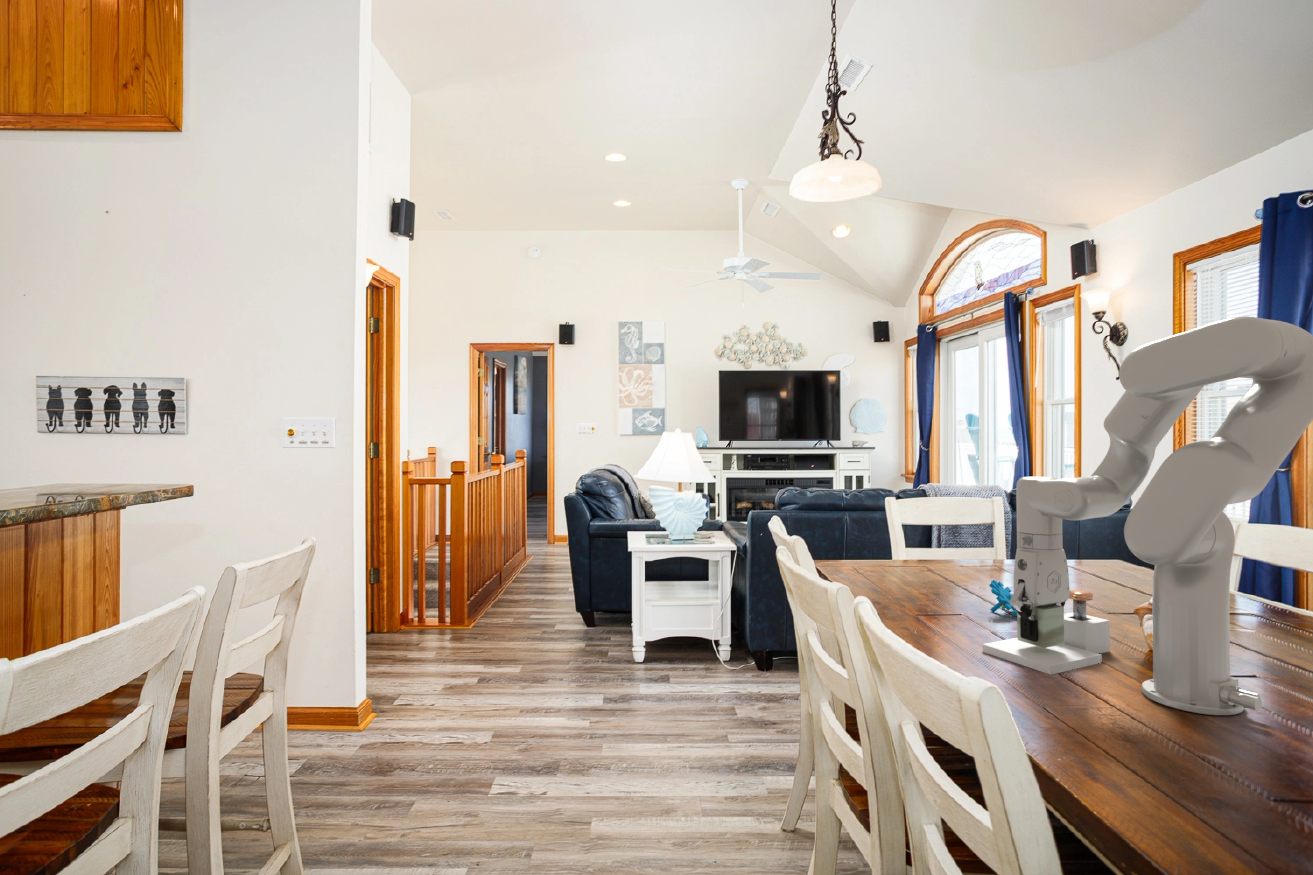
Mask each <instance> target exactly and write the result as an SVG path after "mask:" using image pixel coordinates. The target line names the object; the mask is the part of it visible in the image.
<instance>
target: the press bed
mask: <svg viewBox="0 0 1313 875" xmlns="http://www.w3.org/2000/svg"><path fill="white" fill-rule="evenodd" d="M1110 627H1111V626H1110V620H1109V619H1106V618H1100V617H1096V616H1093V615H1090V614H1089V615H1088V614H1086V620H1085V621H1080V620H1076V619H1073V611H1072V612H1068V613H1067V612H1066V613H1064V644H1062V645H1057V646H1052V647H1047V648H1042V647H1039V646H1036V645H1032V644H1029V643H1026V642H1022V641H1019V640H1017V637H1012V638H1007V639H1003V640H1002V639H1001V640H997V641H996V640H995V641H992V642H986V643H982V653H984V654H987V655H991V656H994V657H996V658H1000V659H1003V660H1006V661H1007V662H1008V661H1010V662H1012V663H1015V664H1018V665H1021V666H1024V667H1026V668H1030V669H1033V670H1036V671H1038V672H1041V673H1045V674H1047V675H1055V674H1060V673H1063V672H1068V671H1073V670H1078V669H1082V668H1085V667H1090V666H1094V664H1095V665H1099V664H1102V663H1101V662H1103V660H1102V659H1103V658H1102V656H1103V655H1102V654H1104V653H1109V652H1110V651H1111V650H1110V649H1111V648H1110V646H1111V644H1110V642H1111V640H1110V638H1111V635H1110V634H1111V633H1110V630H1111V629H1110ZM1099 653H1100V654H1099ZM1098 663H1099V664H1098ZM1077 668H1078V669H1077ZM1072 669H1073V670H1072Z"/></svg>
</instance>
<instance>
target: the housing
mask: <svg viewBox="0 0 1313 875" xmlns="http://www.w3.org/2000/svg"><path fill="white" fill-rule="evenodd" d="M1028 602H1030V601H1029V600H1028ZM1026 607H1027V609H1028V610H1029V611H1030V607H1031V606H1029V605H1027V606H1026ZM1064 607H1065V606H1064ZM1064 607H1063V606H1059V605H1054V604H1049V605H1043V606H1038V607H1037V612H1036V617H1035V620H1038V641H1036V642H1033V641H1030V640H1027V639H1023V638H1021V636H1020V617H1018V613H1017V616H1016V618H1017V619H1016V625H1017V626H1016V627H1017V628H1016V629H1017V632H1016V633H1017V635H1016V636H1017V637H1016V638H1017V640H1019V641H1022V642H1026V643H1029V644H1032V645H1036V646H1039V647H1042V648H1047V647H1052V646H1057V645H1062V644H1064V614H1065V608H1064Z"/></svg>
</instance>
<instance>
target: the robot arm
mask: <svg viewBox="0 0 1313 875" xmlns="http://www.w3.org/2000/svg"><path fill="white" fill-rule="evenodd" d="M1118 378H1119V383H1120V384H1121V386H1122V387H1123V389H1124V390H1125V391H1124V393H1123V394H1122V395H1121V397H1120V398H1119V400H1117V402H1116V404H1115V405H1114V406H1113V407H1112V408H1111V410H1110V411H1109V413H1108V414H1107V415H1106V416H1105V418H1104V420H1103V428H1104V430H1105V431H1106V433H1107V434H1108V437H1109V448H1108V450H1107V452H1106V455H1105V456H1104V458H1103V459H1102V461H1101V462H1100V464H1098V466H1097V468H1096V469H1095V470H1094V472H1092V474H1091V475H1090V476H1079V477H1067V478H1059V479H1058V478H1055V477H1052V476H1022V477H1020V478H1019V479H1018V480H1017V481H1016V485H1015V488H1016V489H1015V490H1016V492H1015V493H1016V494H1015V495H1016V497H1015V499H1016V503H1015V504H1016V552H1015V558H1014V566H1013V567H1014V568H1013V579H1012V580H1013V584H1012V586H1013V593H1012V594H1013V595H1012V597H1011V599H1010V604H1011V605H1012V606H1013V607H1014V608H1015V610H1016V612H1017V613H1018V617H1020V636H1021V638H1023V639H1027V640H1030V641H1033V642H1036V641H1038V620H1035V617H1036V612H1037V607H1038V606H1043V605H1049V604H1054V605H1059V606H1063V607H1065V605H1066V602H1067V601H1068V600H1069V599H1070V598H1069V596H1070V590H1071V589H1070V577H1069V576H1070V574H1069V565H1068V559H1067V555H1066V552H1065V549H1064V548H1063V546H1064V545H1063V520H1065V521H1066V520H1068V521H1083V520H1089V519H1097V518H1104V517H1109V516H1112V515H1113V514H1115V513H1116V512H1118V511H1119V510H1120V509H1122V508H1123V506H1124V505H1125V504H1126V503H1127V502H1128V501H1129V500H1130V498H1131V497H1132V496H1133V495H1134V493H1135V492H1137V490H1138V489H1139V487H1141V485H1142V484H1143V482H1144V480H1145V478H1146V477H1147V475H1148V473H1149V471H1150V469H1151V466H1152V463H1153V461H1154V459H1155V458H1154V457H1155V453H1156V449H1157V447H1158V446H1159V445H1160V442H1162V440H1163V439H1164V438H1165V437H1166V435H1167V434H1168V432H1169V431H1170V429H1171V428H1172V427H1173V426H1174V425H1175V423H1176V422H1177V421H1178V419H1179V418H1180V417H1181V416H1182V415H1183V413H1184V412H1185V411H1186V410H1187V408H1188V407H1189V406H1190V405H1191V403H1192V402H1193V401H1194V399H1195V398H1196V397H1197V396H1198V394H1200V393H1201V391H1202V390H1203V388H1204V387H1205V386H1207V385H1212V384H1215V383H1219V382H1225V381H1228V380H1233V379H1239V378H1242V379H1252V383H1251V386H1250V388H1249V389H1248V391H1247V392H1246V393H1245V394H1244V395H1243V396H1242V397H1241V398H1240V399H1239V400H1238V401H1237V402H1236V403H1235V405H1233V407H1232V408H1231V409H1230V410H1229V412H1228V414H1227V416H1226V418H1225V419H1224V420H1223V422H1222V424H1221V425H1220V426H1219V428H1218V429H1217V431H1216V432H1215V433H1214V434H1213V436H1211V438H1210V439H1209V440H1204V441H1203V440H1202V441H1196V442H1195V441H1194V442H1191V443H1190V442H1189V443H1186V444H1184V445H1182V446H1180V447H1179V448H1177V449H1176V450H1175V451H1173V452H1172V453H1170V454H1169V456H1168V457H1166V459H1164V461H1163V462H1162V463H1161V465H1160V466H1159V468H1158V469H1157V471H1156V472H1155V474H1154V475H1153V477H1152V478H1151V479H1150V481H1149V482H1148V484H1147V486H1146V487H1145V489H1144V490H1143V491H1142V493H1141V495H1140V497H1139V498H1138V499H1137V501H1136V502H1135V504H1134V506H1133V507H1132V509H1131V510H1130V511H1129V513H1128V515H1127V518H1126V521H1125V523H1124V527H1123V534H1124V541H1125V544H1126V545H1127V547H1128V548H1127V549H1128V550H1129V551H1130V552H1131V553H1132V555H1134V556H1135V557H1136V558H1138V559H1139V560H1140V561H1142V562H1145V563H1147V564H1149V565H1153V566H1154V569H1153V574H1152V586H1151V587H1152V588H1151V589H1152V598H1151V600H1152V609H1151V610H1152V678H1151V679H1147V680H1144V681H1143V682H1142V683H1141V685H1140V686H1141V692H1142V694H1143V695H1145V697H1147V698H1148V699H1150V700H1152V701H1154V702H1155V703H1157V704H1160V705H1164V706H1167V707H1170V708H1173V709H1176V710H1181V711H1185V712H1188V713H1194V714H1201V715H1202V714H1203V715H1210V716H1232V715H1238V714H1241V713H1242V712H1244V711H1245V710H1244V708H1246V709H1248V710H1252V711H1256V712H1259V711H1260V710H1261V709H1262V706H1263V702H1262V699H1261V696H1260V694H1259V693H1256V692H1251V691H1249V690H1245V689H1242V688H1241V687H1240V686H1239V678H1237V677H1233V676H1231V640H1230V639H1231V636H1230V633H1231V631H1230V630H1231V628H1230V624H1231V623H1230V622H1231V621H1230V600H1231V598H1230V595H1231V594H1230V593H1231V592H1230V591H1231V590H1230V583H1231V582H1230V580H1231V568H1232V562H1233V557H1234V551H1235V543H1236V542H1235V540H1236V539H1235V530H1234V525H1233V524H1232V522H1231V520H1230V518H1229V517H1228V515H1227V514H1226V513H1225V512H1224V510H1225V508H1226V507H1227V506H1228V505H1234V504H1240V503H1244V502H1247V501H1250V500H1252V499H1253V498H1256V497H1257V496H1259V495H1260V494H1261V492H1262V491H1264V489H1265V488H1266V487H1267V485H1268V483H1269V482H1270V480H1271V479H1272V478H1273V476H1274V474H1275V473H1276V471H1277V470H1278V469H1279V468H1280V467H1281V465H1282V463H1283V462H1284V461H1285V459H1286V458H1287V457H1288V455H1290V453H1291V451H1292V450H1293V448H1295V446H1296V444H1297V443H1298V441H1299V439H1300V438H1301V437H1302V435H1303V434H1304V432H1305V431H1306V430H1307V429H1308V427H1309V426H1310V425H1311V423H1312V422H1313V334H1311V333H1310V332H1309V331H1307V330H1306V329H1303V328H1302V327H1300V326H1298V325H1295V324H1292V323H1289V322H1288V321H1287V322H1285V321H1281V320H1275V319H1267V318H1262V317H1255V316H1237V317H1236V316H1235V317H1229V318H1226V319H1222V320H1218V321H1215V322H1211V323H1208V324H1205V325H1202V326H1198V327H1195V328H1193V329H1190V330H1187V331H1184V332H1180V333H1176V334H1174V335H1170V336H1166V337H1164V338H1161V339H1158V340H1155V341H1151V342H1149V343H1148V342H1147V343H1145V344H1143V345H1141V346H1138V347H1137V348H1135V349H1134V350H1132V351H1131V352H1129V353H1128V354H1127V356H1126V357H1125V358H1124V360H1123V361H1122V362H1121V365H1120V366H1119V372H1118ZM1029 601H1030V602H1029ZM1027 605H1029V606H1031V607H1030V611H1029V610H1028V609H1027V607H1026V606H1027Z"/></svg>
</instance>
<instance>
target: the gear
mask: <svg viewBox="0 0 1313 875" xmlns="http://www.w3.org/2000/svg"><path fill="white" fill-rule="evenodd" d="M988 586H989V587H990V588H991V589H990V592H991V594H993V595H995V596H996V598H995V599H996V600H997V601H998V602H997V603H996V604H995V605H994V606H992V607H990V609H989V610H990V611H991V612H992V613H995V612H996V611H997V610H999V609H1000V608H1001V609H1002V610H1005V609H1006V610H1007V611H1010V610H1012V612H1011V613H1012V614H1013V615H1014V616H1016V617H1017V612H1016V610H1015V608H1014V607H1013V606H1012V605H1011V604H1010V599H1011V597H1012V595H1013V594H1014V593H1011V592H1012V589H1010V587H1008V586H1006V587H1005V588H1004V584H1003V582H1001V581H997V580H995V579H993V580H992V581H991V582H990V583H989V585H988Z"/></svg>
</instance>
